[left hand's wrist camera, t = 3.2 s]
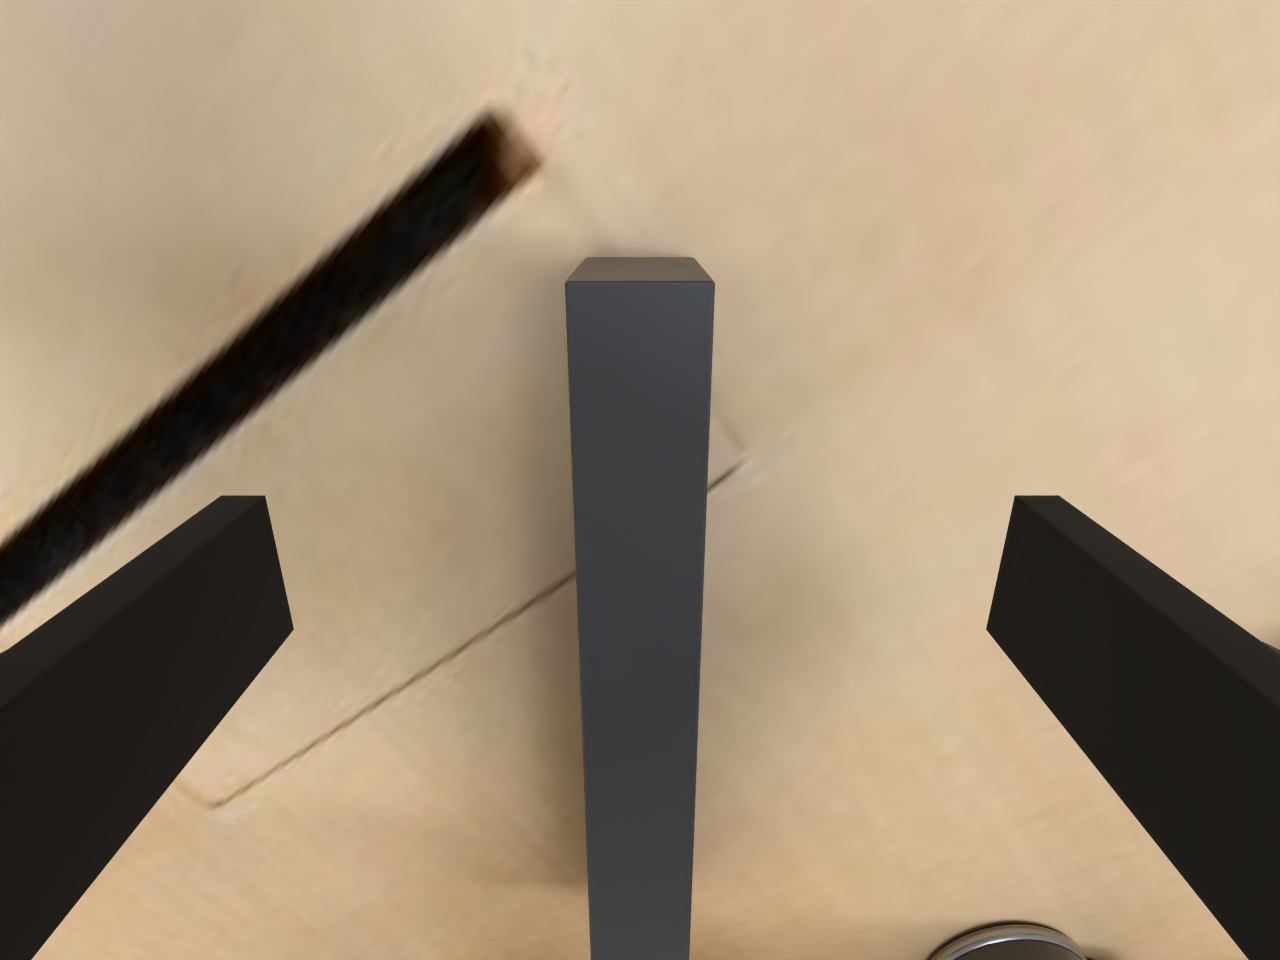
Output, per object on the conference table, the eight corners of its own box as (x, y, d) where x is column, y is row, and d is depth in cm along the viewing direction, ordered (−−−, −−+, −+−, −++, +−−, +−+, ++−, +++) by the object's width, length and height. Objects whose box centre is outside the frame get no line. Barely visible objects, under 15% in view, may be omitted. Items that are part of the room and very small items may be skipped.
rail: (584, 257, 26) (564, 280, 19) (695, 257, 26) (715, 281, 19) (602, 885, 38) (593, 1042, 31) (677, 886, 38) (686, 1042, 31)
